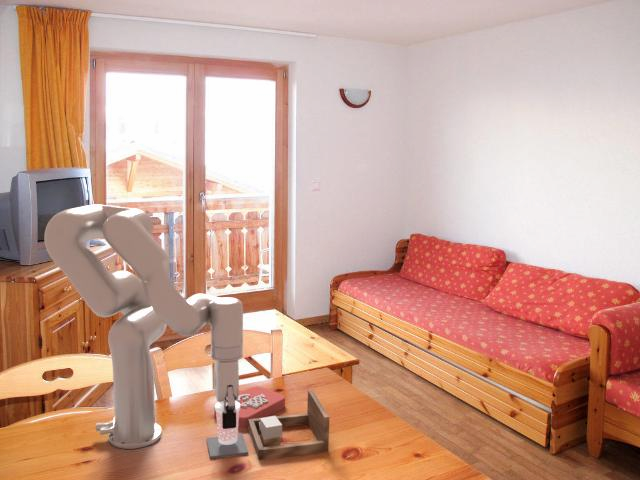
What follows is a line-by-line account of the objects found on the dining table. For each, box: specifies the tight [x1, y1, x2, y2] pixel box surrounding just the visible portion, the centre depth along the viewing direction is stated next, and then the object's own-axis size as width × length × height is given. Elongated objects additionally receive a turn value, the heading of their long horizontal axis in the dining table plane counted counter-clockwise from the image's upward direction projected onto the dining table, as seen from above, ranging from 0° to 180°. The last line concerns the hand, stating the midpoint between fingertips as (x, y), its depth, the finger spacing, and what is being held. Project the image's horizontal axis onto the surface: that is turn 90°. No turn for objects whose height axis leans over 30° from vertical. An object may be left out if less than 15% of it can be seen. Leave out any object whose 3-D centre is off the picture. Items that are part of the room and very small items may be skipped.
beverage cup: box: [214, 397, 240, 445], centre depth 146 cm, size 6×6×14 cm
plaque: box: [213, 386, 286, 429], centre depth 168 cm, size 18×4×15 cm
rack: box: [247, 389, 330, 461], centre depth 151 cm, size 17×16×9 cm
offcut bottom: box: [260, 432, 281, 447], centre depth 150 cm, size 4×6×3 cm, turn 13°
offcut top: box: [260, 415, 283, 439], centre depth 149 cm, size 4×5×3 cm
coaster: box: [206, 433, 249, 460], centre depth 148 cm, size 9×9×1 cm
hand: (227, 420), depth 147 cm, fingers closed on beverage cup, 6 cm apart
